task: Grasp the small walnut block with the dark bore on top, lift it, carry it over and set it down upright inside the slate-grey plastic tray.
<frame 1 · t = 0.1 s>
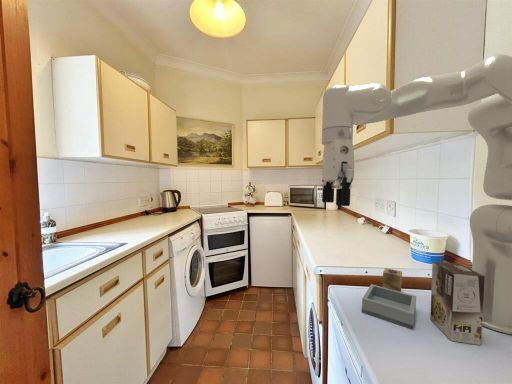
hand: (334, 203, 58), 31 cm above the table, tool pointing down, fingers open, 9 cm apart
walnut block: (391, 292, 77), on the table
coffee box: (453, 331, 56), on the table
tray: (389, 310, 65), on the table
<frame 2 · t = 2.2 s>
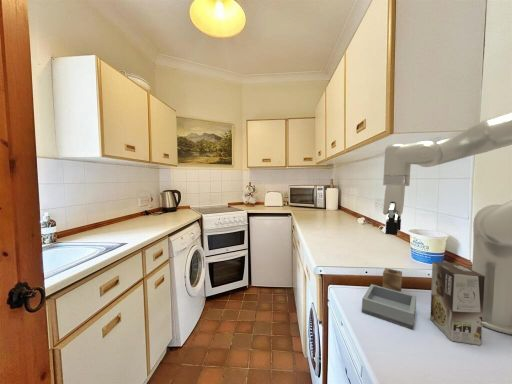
hand: (393, 231, 76), 21 cm above the table, tool pointing down, fingers open, 9 cm apart
nothing on the table moved.
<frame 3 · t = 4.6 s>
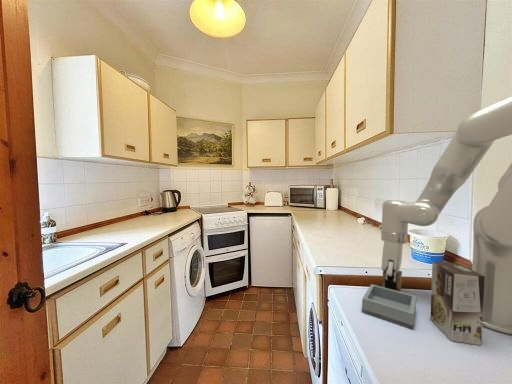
hand: (391, 288, 77), 1 cm above the table, tool pointing down, fingers closed on walnut block, 5 cm apart
walnut block: (391, 291, 77), on the table, touching gripper
everything else where it was.
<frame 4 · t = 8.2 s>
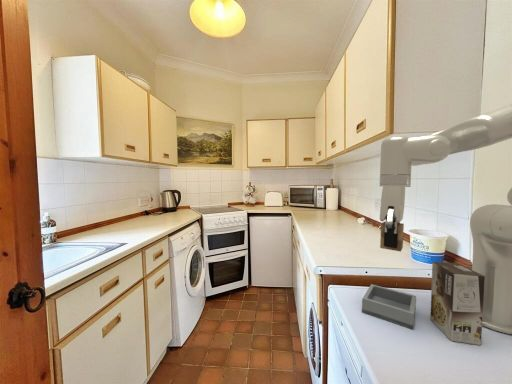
hand: (391, 244, 64), 19 cm above the table, tool pointing down, fingers closed on walnut block, 5 cm apart
walnut block: (391, 247, 64), point 18 cm above the table, touching gripper
everything else where it was.
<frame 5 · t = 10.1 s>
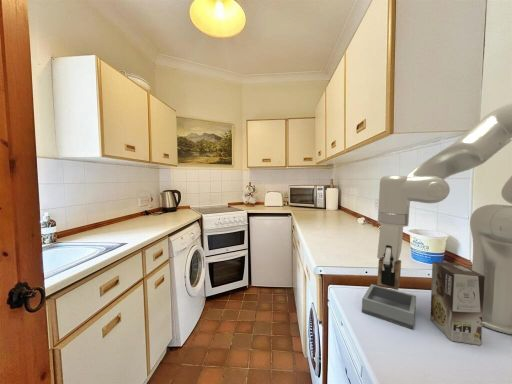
hand: (389, 281, 65), 9 cm above the table, tool pointing down, fingers closed on walnut block, 5 cm apart
walnut block: (388, 284, 65), point 8 cm above the table, touching gripper
everything else where it was.
when the fingers open (4 cm above the table, at t = 11.8 s): walnut block drops 2 cm, resting on tray.
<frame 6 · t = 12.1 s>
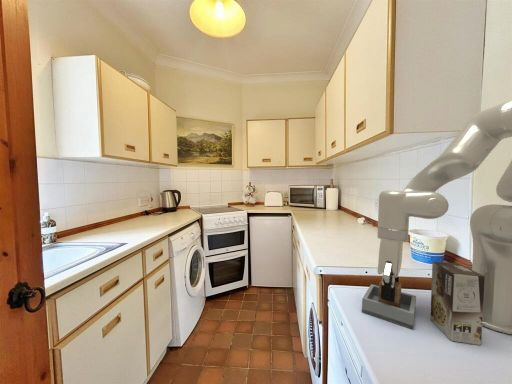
hand: (389, 293, 65), 5 cm above the table, tool pointing down, fingers open, 8 cm apart
walnut block: (389, 307, 65), point 1 cm above the table, touching tray
everything else where it was.
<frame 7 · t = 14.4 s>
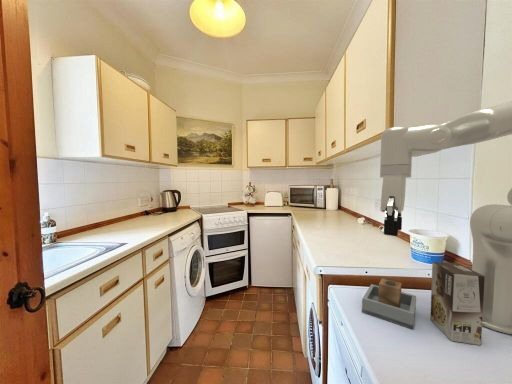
hand: (393, 232, 64), 23 cm above the table, tool pointing down, fingers open, 9 cm apart
nothing on the table moved.
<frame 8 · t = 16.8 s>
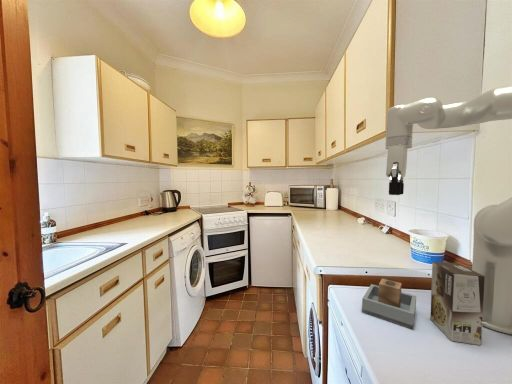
hand: (396, 194, 76), 33 cm above the table, tool pointing down, fingers open, 9 cm apart
nothing on the table moved.
at the end: walnut block 0.0 cm off-centre on the tray, point 1.0 cm above the tray's base; walnut block tilted 0°; the gripper is holding nothing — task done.
